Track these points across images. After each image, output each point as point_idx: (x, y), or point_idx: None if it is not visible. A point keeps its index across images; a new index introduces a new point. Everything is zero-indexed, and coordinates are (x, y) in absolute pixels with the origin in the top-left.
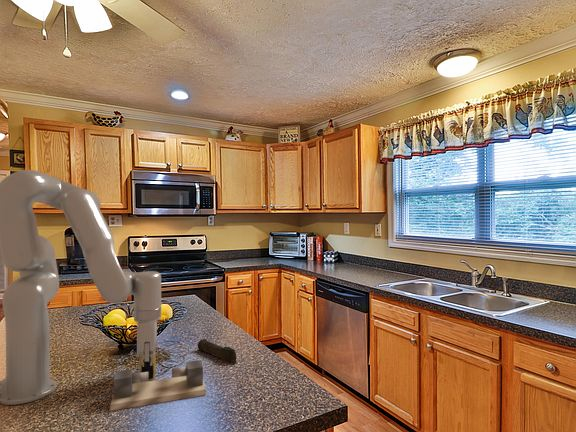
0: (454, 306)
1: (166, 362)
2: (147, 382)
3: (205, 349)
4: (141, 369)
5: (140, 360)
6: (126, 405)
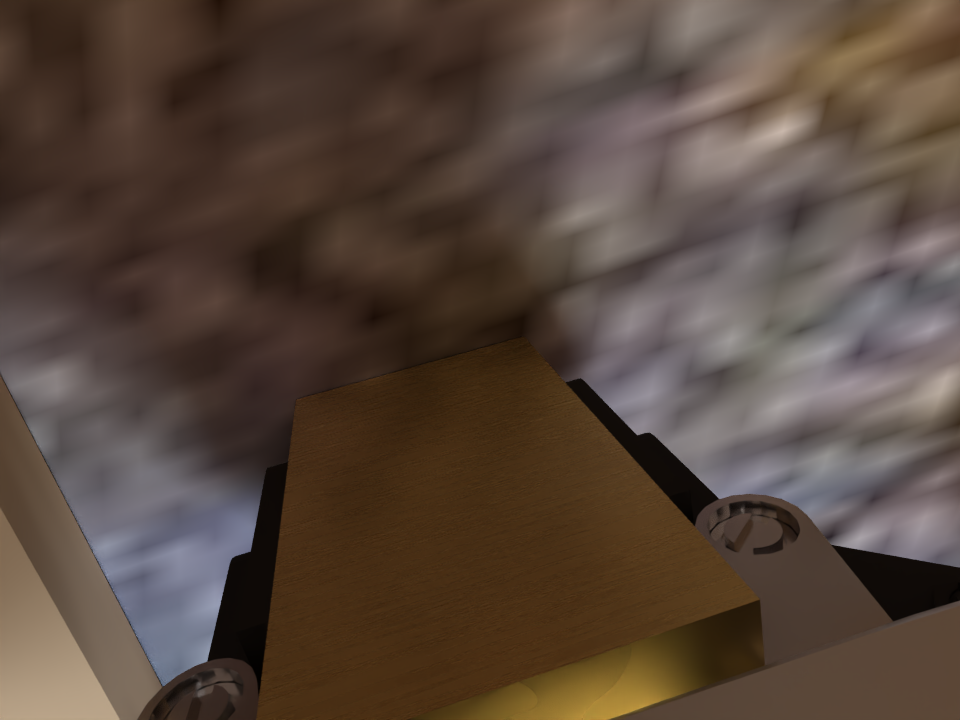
0: None
1: (901, 555)
2: (39, 660)
3: None
4: (250, 580)
5: (269, 712)
6: None
